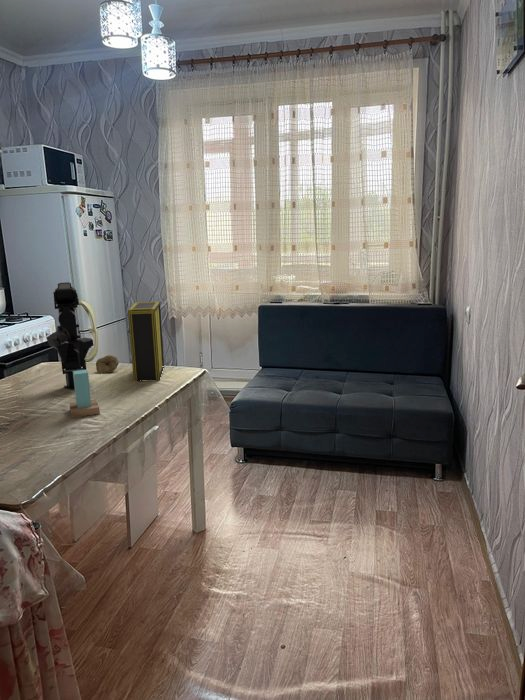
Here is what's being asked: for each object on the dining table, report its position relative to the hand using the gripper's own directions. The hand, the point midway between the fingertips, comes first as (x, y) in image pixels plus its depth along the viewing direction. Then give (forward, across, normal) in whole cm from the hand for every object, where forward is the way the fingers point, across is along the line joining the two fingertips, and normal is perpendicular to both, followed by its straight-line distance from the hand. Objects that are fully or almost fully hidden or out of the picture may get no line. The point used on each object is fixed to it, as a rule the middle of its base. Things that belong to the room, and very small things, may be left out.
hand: (72, 363), depth 197 cm
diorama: (+13, +4, +36) cm, 39 cm away
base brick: (+13, +16, -10) cm, 23 cm away
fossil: (+13, -16, +31) cm, 38 cm away
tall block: (+10, +16, -10) cm, 21 cm away
